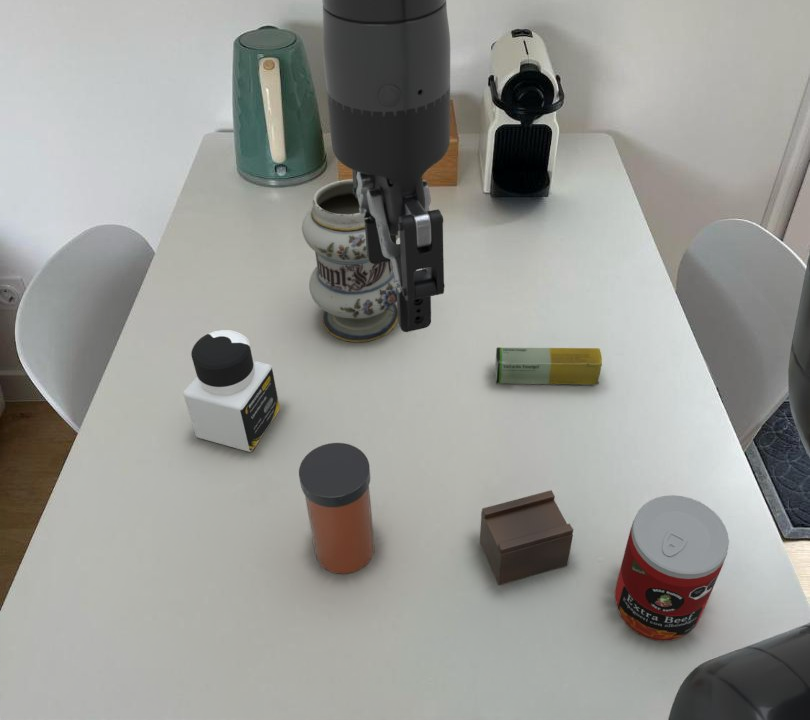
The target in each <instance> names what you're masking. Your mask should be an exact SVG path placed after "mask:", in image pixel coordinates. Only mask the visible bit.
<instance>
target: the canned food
mask: <svg viewBox="0 0 810 720" xmlns="http://www.w3.org/2000/svg"><path fill="white" fill-rule="evenodd" d="M729 545H730V538H729V533H728V531H727V528H726V525H725V524H724V522H723V520H722V519H721V517H720V516H719V515H718V514H717V513H716V512H715V511H714V510H713V509H711V508H710V507H709V506H708V505H706V504H705V503H702V502H701V501H699V500H696V499H694V498H692V497H687V496H683V495H674V494H671V495H670V494H669V495H661V496H658V497H655V498H653V499H651V500H648V501H647V502H645V503H644V504H643V505H642V506H641V507H640V508H639V509H638V510H637V513H636V514H635V516H634V519H633V521H632V524H631V527H630V530H629V534H628V538H627V541H626V546H625V550H624V554H623V557H622V561H621V565H620V568H619V573H618V576H617V580H616V584H615V589H614V600H615V603H616V608H617V611H618V613H619V615H620V617H621V619H622V620H623V621H624V623H625V624H626V625H627V626H628V627H629V628H630V629H631V630H632V631H634V632H635V633H637V634H638V635H640V636H641V637H644V638H646V639H649V640H653V641H658V642H659V641H660V642H670V641H673V640H677V639H680V638H682V637H684V636H686V635H687V634H689V633H690V632H691V631H692V630H693V629H695V628H696V626H697V625H698V624H699V622H700V620H701V618H702V615H703V613H704V611H705V608H706V606H707V604H708V602H709V599H710V598H711V597H710V596H711V594H712V592H713V589H714V587H715V585H716V582H717V580H718V578H719V575H720V573H721V570H722V568H723V566H724V564H725V560H726V558H727V556H728V551H729Z"/></svg>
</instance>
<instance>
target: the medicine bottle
mask: <svg viewBox="0 0 810 720" xmlns="http://www.w3.org/2000/svg"><path fill="white" fill-rule="evenodd" d="M190 355H191V360H192V363H193V368H194V370H195V374H196V376H195V377H194V378H193V379H192V381H191V382H190V383H189V385H188V386H187V387H186V388H185V390H184V391H183V393H182V394H183V397H184V402H185V404H186V408H187V411H188V415H189V418H190V421H191V424H192V427H193V431H194V434H195V436H196V438H198V439H201V440H204V441H205V440H206V441H209V442H212V443H215V444H220V445H222V446H223V445H224V446H225V447H226V446H227V447H230V448H232V449H233V448H235V449H237V450H241V451H245V452H249V453H251V452H253V451H254V449H255V448H256V446H257V444H259V442H260V440H261V439H262V437H263V436H264V434H265V433H266V431H267V429H268V428H269V426H270V425H271V424H272V422H273V421H274V419H275V418H276V416H277V414H278V413H279V411H280V410H281V407H280V402H279V397H278V391H277V387H276V380H275V376H274V371H273V367H272V365H271V364H268V363H264V362H260V361H257V360H254V357H253V353H252V348H251V343H250V340H249V339H248V337H246V336H245V335H244V334H242V333H240V332H238V331H236V330H231V329H220V330H215V331H211V332H209V333H207V334H205V335H203V336H202V337H200V338H199V339H197V341H196V343H195V344H194V345H193V346H192V348H191V353H190Z"/></svg>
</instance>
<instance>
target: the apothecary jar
mask: <svg viewBox="0 0 810 720" xmlns="http://www.w3.org/2000/svg"><path fill="white" fill-rule="evenodd" d="M353 188H354V187H353V178H348V179H341V180H336V181H333V182H330V183H328V184H325V185H324V186H322V187H320V188H319V189H318V190H317V191H316V192H315V193H314V194H313V197H312V206H311V207H310V208H309V209H308V210H307V212H306V213H305V215H304V217H303V219H302V224H301V232H302V235H303V239H304V240H305V242H306V244H307V246H309V248H311V250H312V251H314V252H315V262H316V266H315V268H314V269H313V271H312V272H311V274H310V277H309V280H308V281H309V282H308V289H309V293H310V296H311V298H312V300H313V301H314V303H315V304H316V305H317V306H318V307H319V308H320V309H322V310H323V315H322V323H323V327H324V329H325V330H326V331H327V332H328V333H329V334H330V335H331V336H333V337H335V338H337V339H339V340H342V341H345V342H351V343H365V342H371V341H374V340H377V339H380V338H382V337H383V336H386V335H387V334H389V333H390V332H391V331H392V330H393V329H394V328H395V327H396V325H397V324H398V311H397V289H396V287H395V277H394V272H393V267H392V262H391V261H387V262H382V263H377V264H372V263H371V262H370V261H369V259H368V257H367V248H366V235H365V222H364V219H367V218H363V217H362V215H361V214H360V211H359V207H360V205H359V201H358V199H356V197H355V195H354V194H353ZM398 239H399V236H398V235H396V241H398Z"/></svg>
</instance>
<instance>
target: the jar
mask: <svg viewBox="0 0 810 720" xmlns="http://www.w3.org/2000/svg"><path fill="white" fill-rule="evenodd" d="M370 468H371V467H370V461H369V459H368V457H367V455H366V454H365V453H364V452H363V451H362V450H361V449H359V448H358V447H357V446H354V445H352V444H350V443H344V442H330V443H326V444H322V445H320V446H318V447H315V448H313V449H312V450H311V451H309V452H308V453H307V454H306V455H305V456H304V457H303V459H302V460H301V462H300V465H299V468H298V477H299V483H300V487H301V491H302V493H303V495H304V497H305V503H306V508H307V514H308V519H309V525H310V531H311V536H312V542H313V547H314V548H313V549H314V552H315V556H316V559H317V561H318V564H320V565H321V566H322V567H323V568H324V569H326V570H327V571H329V572H331V573H334V574H341V575H342V574H343V575H345V574H352V573H355V572H357V571H360V570H361V569H363V568H365V566H367V565H368V563H370V561H371V559H372V558H373V556H374V554H375V547H376V544H375V536H374V535H375V533H374V521H373V513H372V503H371V502H372V501H371V492H370V491H371V490H370V484H371V469H370Z"/></svg>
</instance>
